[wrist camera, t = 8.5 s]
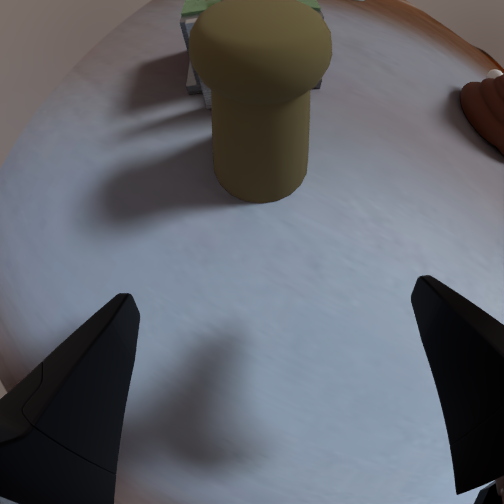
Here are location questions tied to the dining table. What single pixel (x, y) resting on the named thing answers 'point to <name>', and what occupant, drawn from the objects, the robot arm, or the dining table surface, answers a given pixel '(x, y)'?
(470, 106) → the poop emoji
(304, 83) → the cork
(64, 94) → the dining table surface
